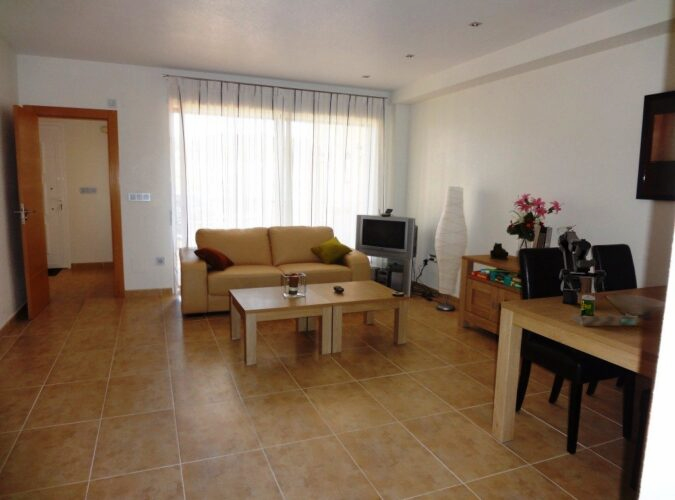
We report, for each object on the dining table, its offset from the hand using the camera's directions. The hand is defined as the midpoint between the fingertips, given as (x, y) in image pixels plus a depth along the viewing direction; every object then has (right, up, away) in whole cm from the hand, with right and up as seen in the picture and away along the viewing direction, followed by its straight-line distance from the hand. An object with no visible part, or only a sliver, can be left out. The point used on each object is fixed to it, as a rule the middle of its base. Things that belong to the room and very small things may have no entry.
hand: (584, 290), depth 209 cm
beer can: (-2, -14, -4) cm, 15 cm away
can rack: (+6, -14, -5) cm, 16 cm away
